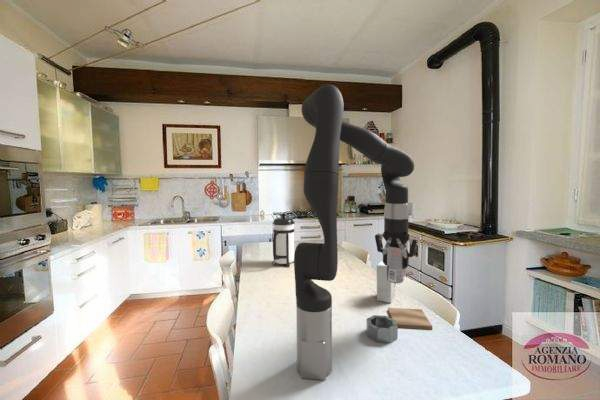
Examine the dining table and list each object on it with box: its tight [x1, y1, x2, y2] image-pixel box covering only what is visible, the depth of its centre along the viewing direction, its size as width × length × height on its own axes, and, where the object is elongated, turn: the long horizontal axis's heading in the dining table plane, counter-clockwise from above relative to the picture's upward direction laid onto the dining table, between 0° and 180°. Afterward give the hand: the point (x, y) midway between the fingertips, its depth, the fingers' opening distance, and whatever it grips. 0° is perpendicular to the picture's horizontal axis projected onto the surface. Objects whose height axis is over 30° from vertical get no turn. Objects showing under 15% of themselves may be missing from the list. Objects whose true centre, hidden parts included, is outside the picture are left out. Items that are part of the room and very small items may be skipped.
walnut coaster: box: [387, 307, 433, 330], centre depth 98 cm, size 12×12×1 cm
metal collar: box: [365, 314, 399, 344], centre depth 89 cm, size 9×9×4 cm
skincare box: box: [376, 260, 396, 304], centre depth 115 cm, size 8×6×15 cm
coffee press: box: [271, 213, 295, 268], centre depth 162 cm, size 17×16×30 cm
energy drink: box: [387, 246, 405, 284], centre depth 93 cm, size 5×5×12 cm
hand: (395, 266), depth 93 cm, fingers closed on energy drink, 5 cm apart
